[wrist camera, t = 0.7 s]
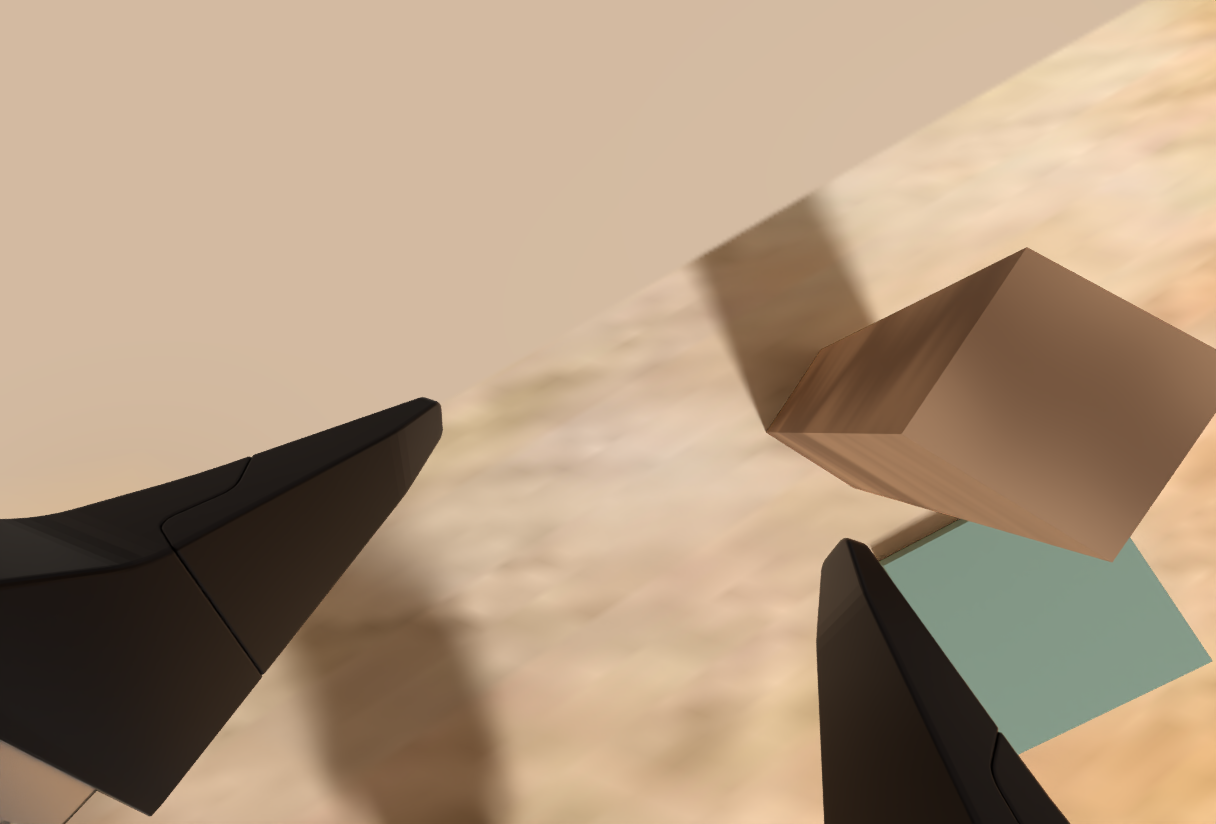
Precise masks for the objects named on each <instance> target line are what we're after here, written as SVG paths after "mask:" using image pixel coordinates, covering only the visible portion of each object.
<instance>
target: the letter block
mask: <svg viewBox="0 0 1216 824" xmlns="http://www.w3.org/2000/svg"><path fill="white" fill-rule="evenodd" d="M1215 413H1216V349H1214V348H1212V347H1211V346H1209V345H1207V344H1205V343H1203V342H1201V341H1200V340H1198V339H1196V338H1194V337H1192V336H1190V335H1188V334H1187V333H1185V332H1183V331H1181V330H1179V329H1177V328H1175V327H1174V326H1172V325H1170V324H1168V323H1166V322H1164V321H1163V320H1161V319H1159V318H1157V317H1155V316H1153V315H1151V314H1150V313H1148V312H1146V311H1144V310H1142V309H1140V308H1138V307H1137V306H1135V305H1133V304H1131V303H1129V302H1127V301H1125V300H1124V299H1122V298H1120V297H1118V296H1116V295H1114V294H1113V293H1111V292H1109V291H1107V290H1105V289H1103V288H1101V287H1100V286H1098V285H1096V284H1094V283H1092V282H1090V281H1088V280H1087V279H1085V278H1083V277H1081V276H1079V275H1077V274H1076V273H1074V272H1072V271H1070V270H1068V269H1066V268H1064V267H1063V266H1061V265H1059V264H1057V263H1055V262H1053V261H1051V260H1050V259H1048V258H1046V257H1044V256H1042V255H1040V254H1038V253H1037V252H1035V251H1033V250H1031V249H1029V248H1027V247H1026V248H1024V249H1022V250H1020V251H1018V252H1016V253H1014V254H1012V255H1010V256H1008V257H1006V258H1004V259H1002V260H1000V261H998V262H996V263H994V264H992V265H990V266H988V267H986V268H984V269H982V270H980V271H978V272H976V273H974V274H972V275H970V276H968V277H966V278H964V279H962V280H960V281H958V282H956V283H954V284H952V285H950V286H948V287H946V288H944V289H942V290H940V291H938V292H936V293H934V294H932V295H930V296H928V297H926V298H924V299H922V300H920V301H918V302H916V303H914V304H912V305H910V306H908V307H906V308H904V309H902V310H900V311H898V312H896V313H894V314H892V315H890V316H888V317H886V318H884V319H882V320H880V321H878V322H876V323H874V324H872V325H870V326H868V327H866V328H863V329H861V330H859V331H857V332H855V333H853V334H851V335H849V336H847V337H845V338H843V339H841V340H839V341H837V342H835V343H833V344H831V345H829V346H827V347H825V348H823V349H821V350H820V352H819V353H818V355H817V356H816V358H815V359H814V361H813V362H812V364H811V365H810V367H809V368H808V370H807V371H806V373H805V374H804V376H803V377H802V379H801V381H800V382H799V384H798V385H797V387H796V388H795V390H794V391H793V393H792V394H791V396H790V397H789V399H788V400H787V402H786V403H785V405H784V406H783V408H782V409H781V411H780V412H779V414H778V415H777V417H776V418H775V420H774V421H773V423H772V424H771V426H770V427H769V429H768V430H767V432H766V433H768V434H769V435H771V436H773V437H774V438H776V439H777V440H779V441H780V442H782V443H784V444H785V445H787V446H788V447H790V448H792V449H793V450H795V451H796V452H798V453H799V454H801V455H803V456H804V457H806V458H807V459H809V460H811V461H812V462H814V463H815V464H817V465H818V466H820V467H822V468H823V469H825V470H826V471H828V472H830V473H831V474H833V475H834V476H836V477H837V478H839V479H841V480H842V481H844V482H845V483H847V484H849V485H850V486H852V487H853V488H856V489H860V490H863V491H866V492H870V493H873V494H877V495H880V496H884V497H887V498H891V499H894V500H898V501H901V502H905V503H908V504H911V505H915V506H918V507H922V508H925V509H929V510H932V511H936V512H939V513H943V514H946V515H950V516H953V517H956V518H960V519H963V520H967V521H970V522H974V523H977V524H981V525H984V526H988V527H991V528H995V529H998V530H1002V531H1005V532H1008V533H1012V534H1015V535H1019V536H1022V537H1026V538H1029V539H1033V540H1036V541H1040V542H1043V543H1047V544H1050V545H1053V546H1057V547H1060V548H1064V549H1067V550H1071V551H1074V552H1078V553H1081V554H1085V555H1088V556H1092V557H1095V558H1098V559H1102V560H1105V561H1109V562H1113V561H1114V559H1115V558H1116V557H1117V555H1118V554H1119V552H1120V551H1121V549H1122V548H1123V546H1124V545H1125V543H1126V542H1127V541H1128V539H1129V538H1130V536H1131V535H1132V533H1133V532H1134V530H1135V529H1136V527H1137V526H1138V525H1139V523H1140V522H1141V520H1142V519H1143V517H1144V516H1145V514H1146V513H1147V512H1148V510H1149V509H1150V507H1151V506H1152V504H1153V503H1154V501H1155V500H1156V498H1157V497H1158V496H1159V494H1160V493H1161V491H1162V490H1163V488H1164V487H1165V485H1166V484H1167V482H1168V481H1169V480H1170V478H1171V477H1172V475H1173V474H1174V472H1175V471H1176V469H1177V468H1178V467H1179V465H1180V464H1181V462H1182V461H1183V459H1184V458H1185V456H1186V455H1187V453H1188V452H1189V451H1190V449H1191V448H1192V446H1193V445H1194V443H1195V442H1196V440H1197V439H1198V438H1199V436H1200V435H1201V433H1202V432H1203V430H1204V429H1205V427H1206V426H1207V424H1208V423H1209V422H1210V420H1211V419H1212V417H1213V416H1214V414H1215Z"/></svg>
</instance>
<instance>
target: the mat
mask: <svg viewBox="0 0 1216 824" xmlns="http://www.w3.org/2000/svg"><path fill="white" fill-rule="evenodd" d="M879 563H880V564H881V565H882V567H883V568H884V570H885V571H886V572H887V574H888V575H889V577H890V578H891V579H892V581H893V582H894V583H895V585H896V586H897V588H898V589H899V590H900V592H901V593H902V595H903V596H904V597H905V599H906V600H907V602H908V603H909V604H910V606H911V607H912V608H913V610H914V611H915V613H916V614H917V615H918V617H919V618H920V620H921V621H922V622H923V624H924V625H925V627H926V628H927V629H928V631H929V632H930V633H931V635H932V636H933V638H934V639H935V640H936V642H937V643H938V645H939V646H940V647H941V649H942V650H943V652H944V653H945V654H946V656H947V657H948V658H949V660H950V661H951V663H952V664H953V665H954V667H955V668H956V670H957V671H958V672H959V674H960V675H961V677H962V678H963V679H964V681H965V682H966V683H967V685H968V686H969V688H970V689H971V690H972V692H973V693H974V695H975V696H976V697H977V699H978V700H979V702H980V703H981V704H982V706H983V707H984V708H985V710H986V711H987V713H988V714H989V715H990V717H991V718H992V720H993V721H994V722H995V724H996V725H997V727H998V732H1001V733H1003V735H1004V736H1005V737H1006V739H1007V740H1008V742H1009V743H1010V744H1011V746H1012V747H1013V748H1014V750H1015V751H1016V753H1017V754H1021V753H1023V752H1025V751H1027V750H1029V749H1031V748H1033V747H1035V746H1037V745H1039V744H1041V743H1043V742H1045V741H1048V740H1050V739H1052V738H1054V737H1056V736H1058V735H1060V734H1062V733H1064V732H1066V731H1068V730H1070V729H1073V728H1075V727H1077V726H1079V725H1081V724H1083V723H1085V722H1087V721H1089V720H1091V719H1093V718H1095V717H1098V716H1100V715H1102V714H1104V713H1106V712H1108V711H1110V710H1112V709H1114V708H1116V707H1118V706H1120V705H1123V704H1125V703H1127V702H1129V701H1131V700H1133V699H1135V698H1137V697H1139V696H1141V695H1143V694H1145V693H1148V692H1150V691H1152V690H1154V689H1156V688H1158V687H1160V686H1162V685H1164V684H1166V683H1168V682H1170V681H1173V680H1175V679H1177V678H1179V677H1181V676H1183V675H1185V674H1187V673H1189V672H1191V671H1193V670H1195V669H1198V668H1200V667H1202V666H1204V665H1206V664H1208V663H1210V662H1212V659H1211V658H1210V656H1209V655H1208V653H1207V652H1206V650H1205V649H1204V647H1203V646H1202V644H1201V643H1200V641H1199V640H1198V638H1197V637H1196V635H1195V634H1194V632H1193V631H1192V629H1191V628H1190V626H1189V625H1188V623H1187V622H1186V620H1185V619H1184V617H1183V616H1182V614H1181V613H1180V611H1179V610H1178V608H1177V607H1176V605H1175V604H1174V602H1173V601H1172V599H1171V598H1170V596H1169V595H1168V593H1167V592H1166V590H1165V589H1164V587H1163V586H1162V584H1161V583H1160V581H1159V580H1158V578H1157V577H1156V575H1155V574H1154V573H1153V571H1152V570H1151V568H1150V567H1149V565H1148V564H1147V562H1146V561H1145V559H1144V558H1143V556H1142V555H1141V553H1140V552H1139V550H1138V549H1137V547H1136V546H1135V544H1134V543H1133V541H1132V540H1131V538H1129V539H1128V541H1127V542H1126V543H1125V545H1124V546H1123V548H1122V549H1121V551H1120V552H1119V554H1118V555H1117V557H1116V558H1115V559H1114V561H1113V562H1109V561H1105V560H1102V559H1098V558H1095V557H1092V556H1088V555H1085V554H1081V553H1078V552H1074V551H1071V550H1067V549H1064V548H1060V547H1057V546H1053V545H1050V544H1047V543H1043V542H1040V541H1036V540H1033V539H1029V538H1026V537H1022V536H1019V535H1015V534H1012V533H1008V532H1005V531H1002V530H998V529H995V528H991V527H988V526H984V525H981V524H977V523H974V522H970V521H967V520H963V519H959V520H957V521H955V522H953V523H952V524H950V525H948V526H946V527H944V528H942V529H940V530H938V531H936V532H934V533H933V534H931V535H929V536H927V537H925V538H923V539H921V540H919V541H917V542H915V543H913V544H912V545H910V546H908V547H906V548H904V549H902V550H900V551H898V552H896V553H894V554H893V555H891V556H889V557H887V558H885V559H883V560H881V561H879Z"/></svg>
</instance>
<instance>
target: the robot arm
mask: <svg viewBox="0 0 1216 824" xmlns="http://www.w3.org/2000/svg"><path fill="white" fill-rule="evenodd" d="M442 431H443V426H442V411H441V405H440V403H438V402H437V401H434V400H431V399H428V398H424V397H421V398H417V399H414V400H411V401H409V402H406V403H403V404H400V405H397V406H394V407H391V408H388V409H385V410H382V411H380V412H377V413H374V414H371V415H368V416H365V417H362V418H359V419H356V420H354V421H351V422H348V423H345V424H342V425H339V426H336V427H333V428H331V429H327V430H325V431H322V432H319V433H316V434H313V435H311V436H307V437H305V438H301V439H299V440H296V441H293V442H290V443H287V444H284V445H281V446H278V447H275V448H272V449H270V450H267V451H264V452H261V453H258V454H255V455H253V456H252V457H246V458H243V459H240V460H237V461H234V462H232V463H229V464H226V465H223V466H220V467H217V468H213V469H211V470H207V471H204V472H201V473H199V474H195V475H192V476H188V477H185V478H182V479H178V480H175V481H171V482H168V483H165V484H161V485H158V486H154V487H151V488H147V489H144V490H140V491H136V492H133V493H130V494H126V495H123V496H119V497H115V498H112V499H108V500H105V501H101V502H97V503H94V504H90V505H87V506H84V507H80V508H76V509H72V510H68V511H64V512H60V513H55V514H50V515H45V516H38V517H30V518H17V519H0V824H66V822H67V821H68V820H69V819H70V818H71V817H72V816H73V815H74V814H75V813H76V812H77V811H78V810H79V809H80V808H81V807H82V806H83V805H84V804H85V802H86V801H87V800H88V799H89V798H90V797H91V796H92V795H93V794H94V793H95V792H96V791H98V792H100V793H102V794H105V795H107V796H109V797H111V798H113V799H115V800H117V801H119V802H121V803H123V804H125V805H127V806H129V807H131V808H133V809H135V810H137V811H139V812H141V813H144V814H146V815H148V816H152V815H153V814H154V813H155V812H156V810H157V809H158V808H159V807H160V806H161V805H162V803H163V802H164V801H165V800H166V799H167V797H168V796H169V795H170V793H171V792H172V791H173V790H174V788H175V787H176V786H177V785H178V783H179V782H180V781H181V780H182V778H183V777H184V776H185V774H186V773H187V772H188V771H189V769H190V768H191V767H192V766H193V764H194V763H195V762H196V760H197V759H198V758H199V757H200V755H201V754H202V753H203V752H204V750H205V749H206V748H207V746H208V745H209V744H210V743H211V741H212V740H213V739H214V738H215V736H216V735H217V734H218V732H219V731H220V730H221V729H222V727H223V726H224V725H225V724H226V722H227V721H228V720H229V719H230V717H231V716H232V715H233V713H234V712H235V711H236V710H237V708H238V707H239V706H240V705H241V703H242V702H243V701H244V699H245V698H246V697H247V696H248V694H249V693H250V692H251V691H252V689H253V688H254V687H255V685H256V684H257V683H258V682H259V680H260V679H261V678H262V675H263V674H264V673H265V672H266V671H267V670H268V668H269V667H270V666H271V665H272V663H273V662H274V661H275V660H276V658H277V657H278V656H279V655H280V653H281V652H282V651H283V649H284V648H285V647H286V646H287V644H288V643H289V642H290V641H291V639H292V638H293V637H294V635H295V634H296V633H297V632H298V630H299V629H300V628H301V627H302V625H303V624H304V623H305V621H306V620H307V619H308V618H309V616H310V615H311V614H312V613H313V611H314V610H315V609H316V607H317V606H318V605H319V604H320V602H321V601H322V600H323V599H324V597H325V596H326V595H327V594H328V592H329V591H330V590H331V588H332V587H333V586H334V585H335V583H336V582H337V581H338V580H339V578H340V577H341V576H342V574H343V573H344V572H345V571H346V569H347V568H348V567H349V566H350V564H351V563H352V562H353V560H354V559H355V558H356V557H357V555H358V554H359V553H360V552H361V550H362V549H363V548H364V546H365V545H366V544H367V543H368V541H369V540H370V539H371V538H372V536H373V535H374V534H375V532H376V531H377V530H378V529H379V527H380V526H381V525H382V524H383V522H384V521H385V520H386V519H387V517H388V516H389V515H390V513H391V512H392V511H393V510H394V508H395V507H396V506H397V505H398V503H399V502H400V501H401V499H402V498H403V497H404V495H405V494H406V493H407V491H408V490H409V488H410V487H411V485H412V484H413V482H414V480H415V479H416V477H417V476H418V474H419V472H420V471H421V469H422V467H423V466H424V464H425V463H426V461H427V459H428V458H429V456H430V455H431V453H432V451H433V450H434V448H435V446H436V445H437V443H438V442H439V440H440V438H441V435H442ZM816 645H817V672H818V695H819V717H820V740H821V762H822V784H823V807H824V824H1070V823H1069V821H1068V820H1067V819H1066V818H1065V816H1064V815H1063V814H1062V812H1061V811H1060V810H1059V809H1058V807H1057V806H1056V805H1055V804H1054V802H1053V801H1052V800H1051V798H1050V797H1049V796H1048V794H1047V793H1046V792H1045V790H1044V789H1043V788H1042V786H1041V785H1040V784H1039V782H1038V781H1037V780H1036V778H1035V777H1034V776H1033V774H1032V773H1031V772H1030V770H1029V769H1028V768H1027V766H1026V765H1025V764H1024V762H1023V761H1022V760H1021V758H1020V757H1019V755H1018V754H1017V753H1016V751H1015V750H1014V748H1013V747H1012V746H1011V744H1010V743H1009V742H1008V740H1007V739H1006V737H1005V736H1004V735H1003V733H1001V732H998V727H997V725H996V724H995V722H994V721H993V720H992V718H991V717H990V715H989V714H988V713H987V711H986V710H985V708H984V707H983V706H982V704H981V703H980V702H979V700H978V699H977V697H976V696H975V695H974V693H973V692H972V690H971V689H970V688H969V686H968V685H967V683H966V682H965V681H964V679H963V678H962V677H961V675H960V674H959V672H958V671H957V670H956V668H955V667H954V665H953V664H952V663H951V661H950V660H949V658H948V657H947V656H946V654H945V653H944V652H943V650H942V649H941V647H940V646H939V645H938V643H937V642H936V640H935V639H934V638H933V636H932V635H931V633H930V632H929V631H928V629H927V628H926V627H925V625H924V624H923V622H922V621H921V620H920V618H919V617H918V615H917V614H916V613H915V611H914V610H913V608H912V607H911V606H910V604H909V603H908V602H907V600H906V599H905V597H904V596H903V595H902V593H901V592H900V590H899V589H898V588H897V586H896V585H895V583H894V582H893V581H892V579H891V578H890V577H889V575H888V574H887V572H886V571H885V570H884V568H883V567H882V565H881V564H880V563H879V561H878V560H877V558H876V557H875V556H874V554H873V553H872V552H871V550H870V549H869V548H868V546H867V545H865V544H864V543H861V542H858V541H855V540H852V539H849V538H844V539H842V540H841V541H840V542H839V543H838V544H837V545H836V547H835V548H834V549H833V550H832V552H831V553H830V554H829V555H828V557H827V558H826V559H825V561H824V563H823V565H822V570H821V582H820V595H819V608H818V621H817V638H816Z"/></svg>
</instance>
